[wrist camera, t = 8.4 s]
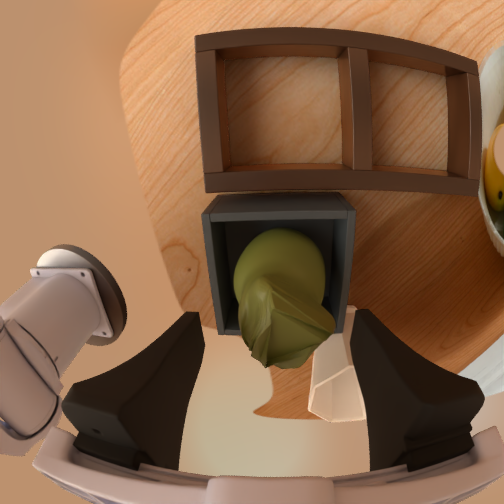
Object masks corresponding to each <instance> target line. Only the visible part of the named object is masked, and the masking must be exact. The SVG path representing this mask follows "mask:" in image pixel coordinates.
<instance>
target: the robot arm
mask: <svg viewBox="0 0 504 504" xmlns="http://www.w3.org/2000/svg"><path fill="white" fill-rule="evenodd" d="M30 272H31V275H32V278H31V279H30V280H29V281H28V282H26V283H25V284H24V285H23V286H22V287H21V288H19V289H18V290H17V291H16V292H15V293H14V294H12V295H11V296H10V297H9V298H8V299H7V300H5V301H4V303H2V305H1V306H0V417H1V418H2V419H3V420H4V421H5V422H3V421H1V420H0V454H5V455H11V456H25V454H26V453H27V452H28V451H29V450H30V449H31V448H32V447H33V446H34V445H35V444H36V443H37V442H39V441H40V440H43V439H44V438H45V440H44V442H43V444H42V446H41V448H40V449H39V451H38V453H37V455H36V457H35V459H34V461H33V463H32V465H33V467H35V468H36V469H37V470H38V471H40V472H41V473H42V474H43V475H45V476H46V477H47V478H49V479H50V480H51V481H53V482H54V483H55V484H57V485H58V486H60V487H61V488H63V489H64V490H66V491H68V492H70V493H72V494H75V495H76V496H78V497H81V498H83V499H85V500H87V501H89V502H91V503H93V504H456V503H459V502H461V501H463V500H465V499H467V498H469V497H471V496H473V495H475V494H477V493H479V492H481V491H482V490H484V489H485V488H487V487H488V486H489V485H491V484H492V483H494V482H495V481H496V480H498V479H499V478H500V477H501V476H503V475H504V444H503V441H502V439H501V436H500V434H499V432H498V430H497V427H496V426H493V427H490V428H488V429H486V430H484V431H481V432H479V433H477V434H476V435H474V436H473V437H471V435H470V431H471V430H472V426H471V424H470V422H471V421H472V419H473V418H474V417H475V416H476V414H477V413H478V412H479V410H480V409H481V407H482V406H483V403H484V400H485V397H484V394H483V392H482V390H481V389H480V387H479V385H478V383H477V382H476V381H474V380H471V379H468V378H465V377H462V376H459V375H457V374H454V373H452V372H450V371H447V370H445V369H443V368H441V367H439V366H438V365H436V364H434V363H432V362H430V361H429V360H427V359H425V358H424V357H422V356H421V355H419V354H418V353H417V352H415V351H414V350H412V349H411V348H410V347H408V346H407V345H406V344H405V343H404V342H402V341H401V340H400V339H399V338H398V337H397V336H395V335H394V334H393V333H392V332H391V331H390V330H389V329H388V328H387V327H386V326H385V325H384V324H383V323H382V322H381V321H380V320H379V319H378V318H377V317H376V316H375V315H374V314H373V313H372V312H371V311H370V310H368V309H361V310H355V316H354V322H353V327H352V333H351V338H350V350H351V356H352V362H353V365H354V369H355V372H356V375H357V379H358V382H359V386H360V389H361V393H362V396H363V400H364V405H365V411H366V418H367V426H368V436H369V451H370V472H365V473H359V474H352V475H345V476H336V477H327V478H324V477H313V476H310V477H309V476H304V477H249V476H217V477H216V476H206V475H200V474H193V473H187V472H181V471H178V468H179V458H180V449H181V442H182V435H183V428H184V423H185V418H186V413H187V407H188V404H189V400H190V397H191V394H192V391H193V388H194V385H195V382H196V379H197V376H198V373H199V370H200V367H201V364H202V359H203V354H204V348H205V342H204V337H203V332H202V327H201V322H200V317H199V312H185V313H184V314H183V315H182V316H181V317H180V318H179V319H178V320H177V321H176V322H175V323H174V324H173V325H172V326H171V327H170V328H169V329H168V330H166V331H165V332H164V333H163V334H162V335H161V336H160V337H159V338H157V339H156V340H155V341H154V342H153V343H151V344H150V345H149V346H148V347H147V348H145V349H144V350H143V351H141V352H140V353H138V354H137V355H136V356H134V357H133V358H131V359H129V360H128V361H126V362H124V363H122V364H121V365H119V366H117V367H115V368H113V369H111V370H110V371H107V372H105V373H103V374H100V375H98V376H95V377H93V378H90V379H87V380H84V381H81V382H77V383H74V384H73V385H72V387H71V388H70V390H69V392H68V393H67V395H66V397H65V398H64V400H63V401H62V398H61V397H60V395H59V393H60V391H61V390H62V388H63V385H62V383H61V382H60V380H59V379H60V378H61V377H62V375H63V374H64V372H65V371H66V369H67V368H68V367H69V365H70V364H71V362H72V361H73V359H74V358H75V357H76V355H77V354H78V353H79V351H80V350H81V348H82V347H83V346H84V344H85V343H86V342H87V340H88V339H89V337H90V336H91V335H97V336H103V337H112V336H113V334H114V333H113V330H112V328H111V325H110V323H109V320H108V317H107V315H106V312H105V309H104V307H103V304H102V301H101V298H100V295H99V292H98V289H97V286H96V283H95V280H94V277H93V273H92V271H91V270H90V269H88V268H35V267H34V268H32V269H31V270H30ZM83 273H84V274H85V275H84V274H83ZM62 411H63V412H64V414H65V416H66V417H67V418H68V419H69V421H70V422H71V423H72V424H73V426H74V427H75V428H76V429H77V430H78V431H79V433H78V435H77V437H76V436H74V435H73V434H71V433H69V432H67V431H65V430H62V429H60V428H57V425H58V423H59V421H60V419H61V415H62Z"/></svg>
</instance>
